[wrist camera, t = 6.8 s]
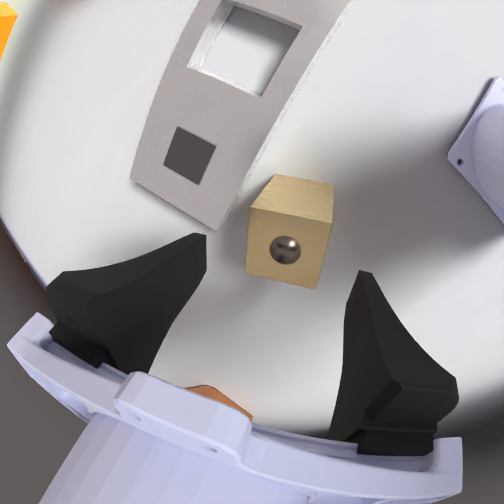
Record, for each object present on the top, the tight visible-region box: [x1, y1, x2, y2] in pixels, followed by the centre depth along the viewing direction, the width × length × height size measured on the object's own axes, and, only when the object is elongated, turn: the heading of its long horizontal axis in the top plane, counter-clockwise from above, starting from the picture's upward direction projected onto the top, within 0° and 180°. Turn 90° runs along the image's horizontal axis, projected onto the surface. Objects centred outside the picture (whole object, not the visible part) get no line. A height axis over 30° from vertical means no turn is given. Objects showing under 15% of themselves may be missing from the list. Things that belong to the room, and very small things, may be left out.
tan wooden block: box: [245, 174, 334, 289], centre depth 16 cm, size 4×4×6 cm
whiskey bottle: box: [186, 386, 253, 422], centre depth 26 cm, size 10×10×32 cm
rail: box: [130, 0, 356, 232], centre depth 13 cm, size 8×24×2 cm, turn 153°
